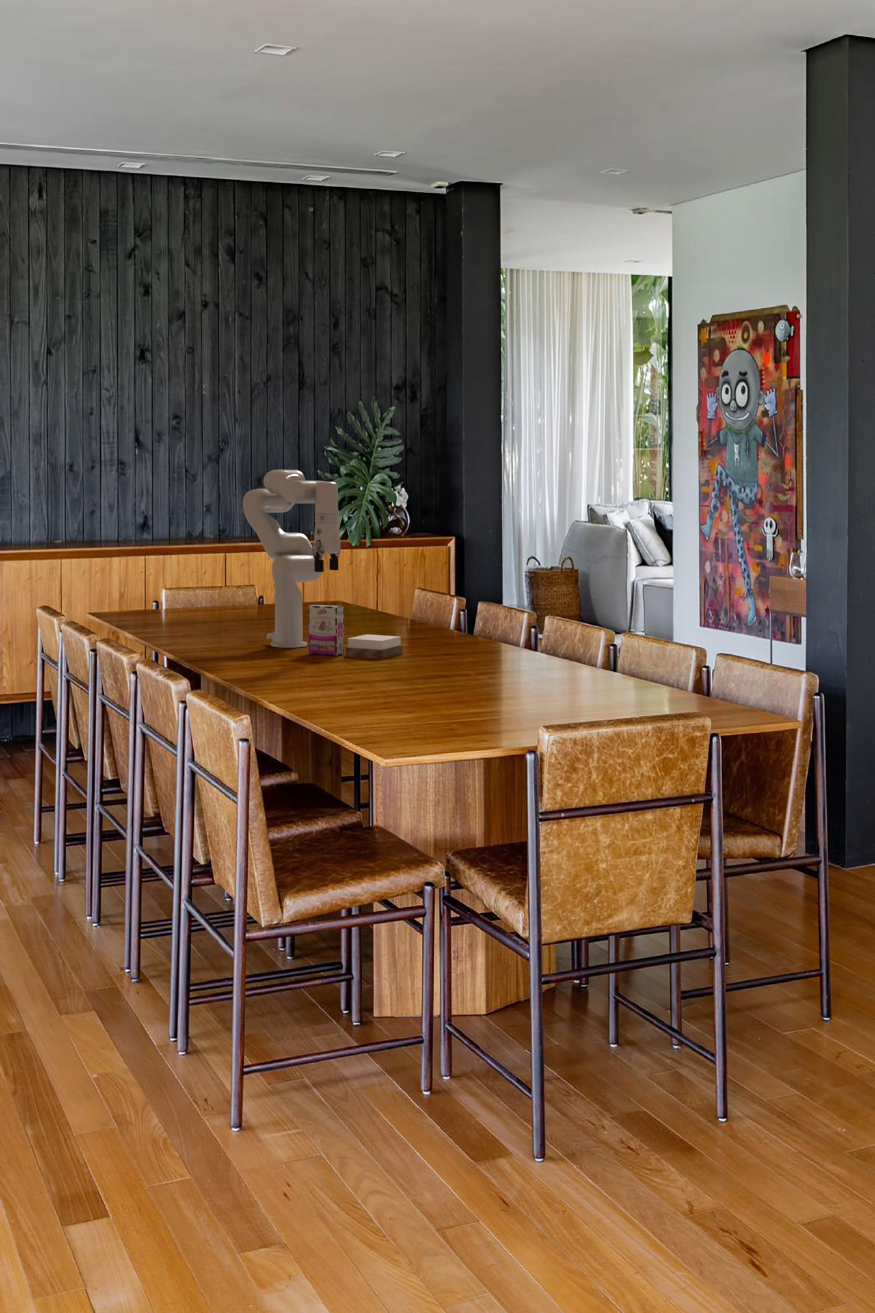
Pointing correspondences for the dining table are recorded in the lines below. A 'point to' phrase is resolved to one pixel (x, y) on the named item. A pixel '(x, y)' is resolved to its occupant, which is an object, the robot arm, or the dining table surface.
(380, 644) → the cream top block
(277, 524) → the robot arm
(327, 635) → the candy bar box
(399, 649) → the walnut base block
